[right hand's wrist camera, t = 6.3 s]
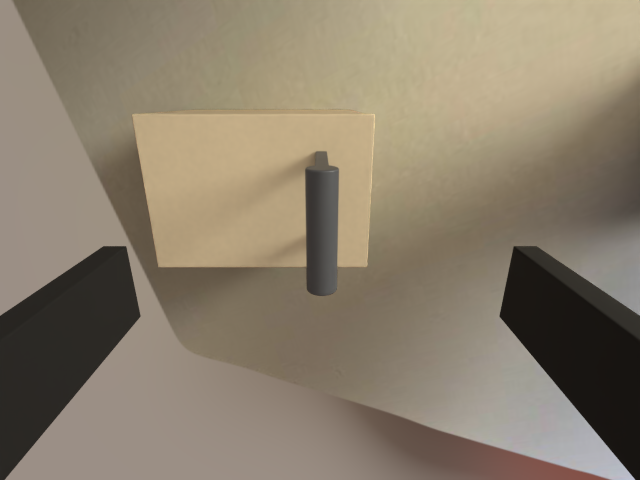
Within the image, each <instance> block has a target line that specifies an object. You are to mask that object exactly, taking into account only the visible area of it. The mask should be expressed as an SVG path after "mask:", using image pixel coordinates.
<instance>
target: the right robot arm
mask: <svg viewBox="0 0 640 480" xmlns="http://www.w3.org/2000/svg"><path fill="white" fill-rule="evenodd" d="M139 318H140V312H139V307H138V302H137V297H136V292H135V287H134V282H133V277H132V273H131V268H130V263H129V258H128V253H127V248H126V246H104V247H102V248H100V249H99V250H98V251H96V252H94V253H93V254H91V255H90V256H89V257H87V258H86V259H84V260H83V261H81V262H80V263H78V264H77V265H75V266H74V267H72V268H71V269H69V270H68V271H66V272H65V273H63V274H62V275H60V276H59V277H57V278H56V279H54V280H53V281H51V282H50V283H48V284H47V285H45V286H44V287H42V288H41V289H39V290H38V291H36V292H35V293H34V294H32V295H31V296H29V297H28V298H26V299H25V300H23V301H22V302H20V303H19V304H17V305H16V306H14V307H13V308H11V309H10V310H8V311H7V312H5V313H4V314H2V315H1V316H0V480H5V479H6V477H7V476H8V475H9V474H10V472H11V471H12V470H13V469H14V468H15V466H16V465H17V464H18V463H19V462H20V460H21V459H22V458H23V457H24V456H25V454H26V453H27V452H28V451H29V450H30V448H31V447H32V446H33V445H34V444H35V442H36V441H37V440H38V439H39V438H40V436H41V435H42V434H43V433H44V432H45V430H46V429H47V428H48V427H49V426H50V424H51V423H52V422H53V421H54V420H55V418H56V417H57V416H58V415H59V414H60V412H61V411H62V410H63V409H64V408H65V406H66V405H67V404H68V403H69V402H70V400H71V399H72V398H73V397H74V396H75V394H76V393H77V392H78V391H79V390H80V388H81V387H82V386H83V385H84V384H85V382H86V381H87V380H88V379H89V378H90V376H91V375H92V374H93V373H94V372H95V370H96V369H97V368H98V367H99V366H100V364H101V363H102V362H103V361H104V360H105V358H106V357H107V356H108V355H109V354H110V352H111V351H112V350H113V349H114V348H115V346H116V345H117V344H118V343H119V341H120V340H121V339H122V338H123V337H124V336H125V334H126V333H127V332H128V331H129V330H130V328H131V327H132V326H133V325H134V324H135V322H136V321H137V320H138V319H139ZM500 318H501V319H502V320H503V321H504V322H505V324H506V325H507V326H508V327H509V328H510V330H511V331H512V332H513V333H514V334H515V336H516V337H517V338H518V339H519V340H520V342H521V343H522V344H523V345H524V346H525V348H526V349H527V350H528V351H529V352H530V354H531V355H532V356H533V357H534V358H535V360H536V361H537V362H538V363H539V364H540V366H541V367H542V368H543V369H544V370H545V372H546V373H547V374H548V375H549V376H550V378H551V379H552V380H553V381H554V382H555V384H556V385H557V386H558V387H559V388H560V390H561V391H562V392H563V393H564V394H565V396H566V397H567V398H568V399H569V400H570V402H571V403H572V404H573V405H574V406H575V408H576V409H577V410H578V411H579V412H580V414H581V415H582V416H583V417H584V418H585V420H586V421H587V422H588V423H589V424H590V426H591V427H592V428H593V429H594V430H595V432H596V433H597V434H598V435H599V436H600V438H601V439H602V440H603V441H604V442H605V444H606V445H607V446H608V447H609V448H610V450H611V451H612V452H613V453H614V454H615V456H616V457H617V458H618V459H619V460H620V462H621V463H622V464H623V465H624V466H625V468H626V469H627V470H628V471H629V473H630V474H631V475H632V476H633V477H634V479H635V480H640V316H639V315H638V314H636V313H635V312H633V311H632V310H630V309H629V308H627V307H626V306H624V305H623V304H621V303H620V302H618V301H617V300H615V299H614V298H612V297H611V296H609V295H608V294H606V293H605V292H604V291H602V290H601V289H599V288H598V287H596V286H595V285H593V284H592V283H590V282H589V281H587V280H586V279H584V278H583V277H581V276H580V275H578V274H577V273H575V272H574V271H572V270H571V269H569V268H568V267H566V266H565V265H563V264H562V263H560V262H559V261H557V260H556V259H554V258H553V257H551V256H550V255H549V254H547V253H546V252H544V251H543V250H541V249H540V248H538V247H537V246H514V248H513V253H512V258H511V263H510V268H509V273H508V277H507V282H506V287H505V292H504V297H503V302H502V307H501V312H500Z"/></svg>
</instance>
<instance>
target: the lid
mask: <svg viewBox="0 0 640 480" xmlns="http://www.w3.org/2000/svg"><path fill="white" fill-rule="evenodd" d="M132 119H133V125H134V131H135V136H136V142H137V148H138V154H139V159H140V165H141V171H142V177H143V182H144V188H145V194H146V199H147V205H148V211H149V217H150V222H151V228H152V234H153V239H154V245H155V251H156V257H157V262H158V267H306V270H307V290H308V292H310V293H311V294H314V295H318V296H326V295H330V294H333V293H334V292H335V291H336V289H337V267H367V261H368V241H369V222H370V202H371V182H372V163H373V143H374V124H375V114H132Z"/></svg>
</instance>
